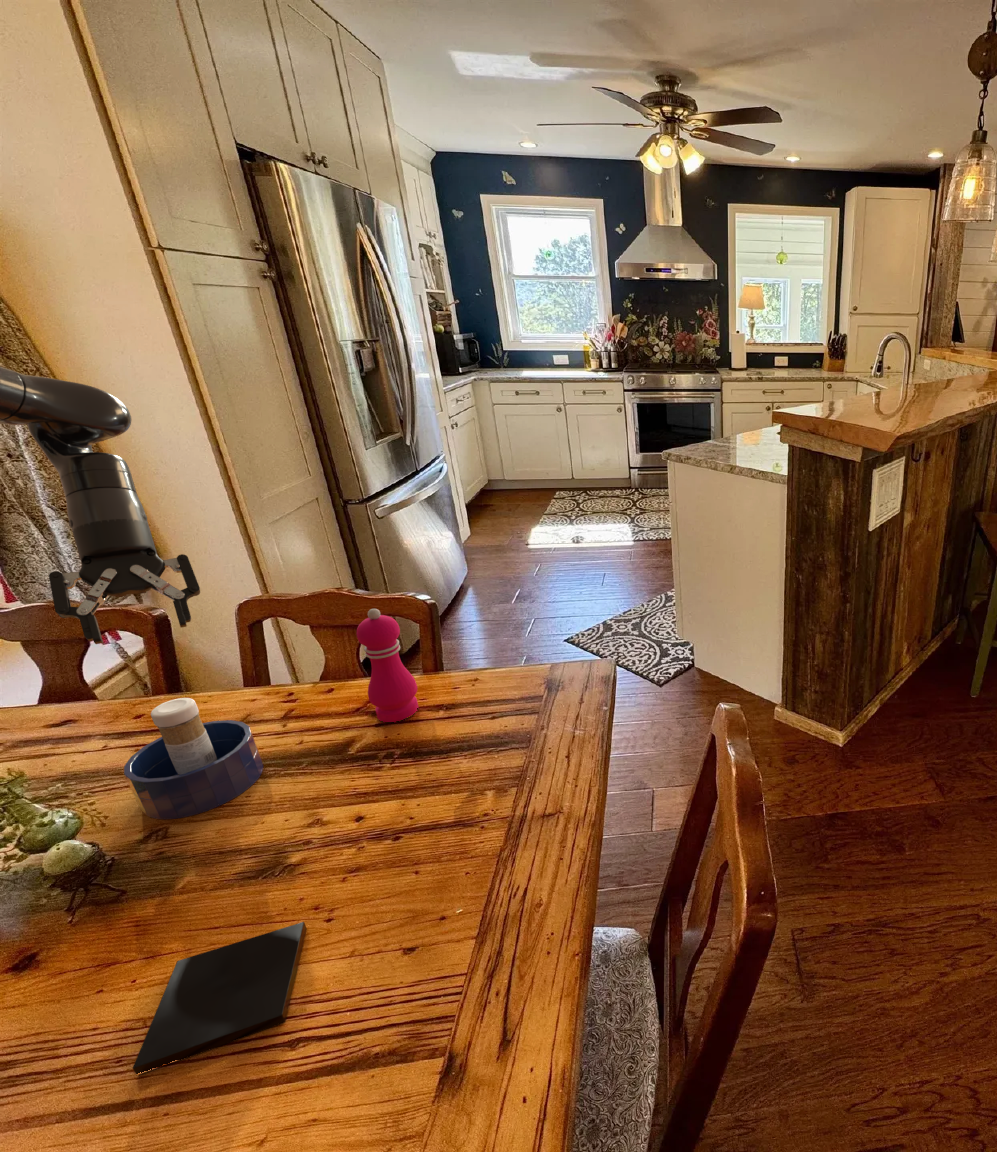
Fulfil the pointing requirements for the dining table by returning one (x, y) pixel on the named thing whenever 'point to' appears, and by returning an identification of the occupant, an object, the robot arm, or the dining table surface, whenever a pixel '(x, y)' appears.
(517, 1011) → the dining table surface
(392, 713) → the pepper mill
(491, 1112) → the dining table surface
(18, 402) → the robot arm
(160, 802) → the bowl
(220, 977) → the plate
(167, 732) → the sprinkles bottle
